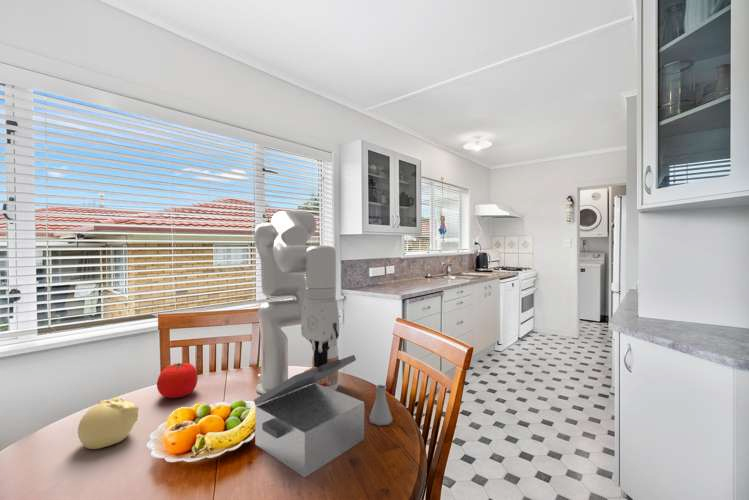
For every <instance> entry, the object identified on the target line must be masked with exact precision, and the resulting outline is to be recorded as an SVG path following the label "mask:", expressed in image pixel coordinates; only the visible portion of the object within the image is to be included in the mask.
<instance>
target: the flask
mask: <svg viewBox="0 0 749 500" xmlns="http://www.w3.org/2000/svg"><path fill="white" fill-rule="evenodd" d="M375 389H376V395H375V400H374V403H373V406H372V409H371V411H370V414H369V418H368V419H369V423H370V424H372V425H376V426H388V425H390V424H391V423H392V422H394V419H393V416H392V413H391V410H390V406H389V404H388V401H387V395H386V390H387V385H385V384H377V385H376V386H375Z"/></svg>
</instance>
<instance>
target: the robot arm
mask: <svg viewBox="0 0 749 500" xmlns="http://www.w3.org/2000/svg"><path fill="white" fill-rule="evenodd" d="M270 221H271V222H263V223H260V224H259V223H258V225H256V227H255V229H254V243H255V247H256V250H257V253H258V255H259V258H260V276H261V277H260V280H261V291H262V294H263V296H264V297H268V298H281V297H282V298H283V297H291V298H292V299H286V300H285V299H284V300H283V299H282V300H272V301H267V302H264V303H262V304H261V305H260V306H259V307H258V311H257V314H258V315H257V316H258V318H257V319H258V323H259V331H260V373H259V374H257V378H258V379H260V380H259V383H258V384H256V387H255V391H256V392H257V393H258V394H260V395H263V394H265V393H266V392H268V391H270V390H271V389H273V388H275V387H276V386H278V385H280V384H281V383H283V382H284V381H286V380H288V379H289V339H288V336H287V334H286V333H285V332H284V331H283V330H282V328H286V327H292V326H299V325H301V326H300V328H301V329H300V332H301V333H300V335H301V336H302V337H303V338H304V339H305V340H307V341H308V342H310V344H311V349H312V351H314V367H317V368H318V367H319V366H321V365H324V364H327V363H328V350H329V348H330V347H333V346H336V345H337V346H338V339H339V336H340V316H339V315H340V312H339V307H338V301H337V300H336V299H337V294H336V292H337V291H336V290H337V278H336V277H337V252H336V249H335V248H334V247H333V246H330V245H329V246H328V245H316V244H315V245H314V244H313V245H310V244H308V245H307V243H308V241H309V240H310V239H311V238H312V237H313V236H314V234H315V233H316V230H317V220H316V217H315V215H313V214H312V213H311V212H308V211H299V210H298V211H297V210H281V211H277V212H276V213H274V214H273V216H272V217H271V220H270ZM304 274H305V275H304ZM337 338H338V339H337ZM336 339H337V340H336Z"/></svg>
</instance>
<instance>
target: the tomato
mask: <svg viewBox="0 0 749 500" xmlns="http://www.w3.org/2000/svg"><path fill="white" fill-rule="evenodd" d="M198 376H199V375H198V371H197V369H196V368H195V366H194V365H193V364H191V363H188V362H180V363H179V362H178V363H173V364H170V365H168V366H166V367H165V368H164V369H163V370H162V371H160V374H159V375H158V378H157V382H156V387H157V391H158V393H159V395H161V396H162V397H165V398H170V399H175V398H176V399H177V398H178V399H179V398H182V397H185V396H188V395H190V394H191V393H192V392H194V390H195V389H196V387H197V384H198Z"/></svg>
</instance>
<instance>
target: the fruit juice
mask: <svg viewBox="0 0 749 500" xmlns="http://www.w3.org/2000/svg"><path fill="white" fill-rule="evenodd" d="M338 339H339V337H338V338H337V339H336V340H337V341H338ZM311 353H312V355H311V357H312V359H311V360H312V361H311V363H312V364H311V366H312V367H311V368H313V367H314V351H313V350H312V352H311ZM338 359H339V347H338V344H337V345H336V346H333V347H330V348H329V350H328V363H330V362H332V361H335V360H338ZM315 368H317V367H314V369H315ZM315 383H316V384H319V385H322V386H324V387H327V388H329V389H332V390H334V391H337V390H338V387H339V370H337V371H335V372H334V373H332V374H330V375H328V376H326V377H324V378H323V379H321V380H319V381H317V382H315ZM313 384H314V383H313Z"/></svg>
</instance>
